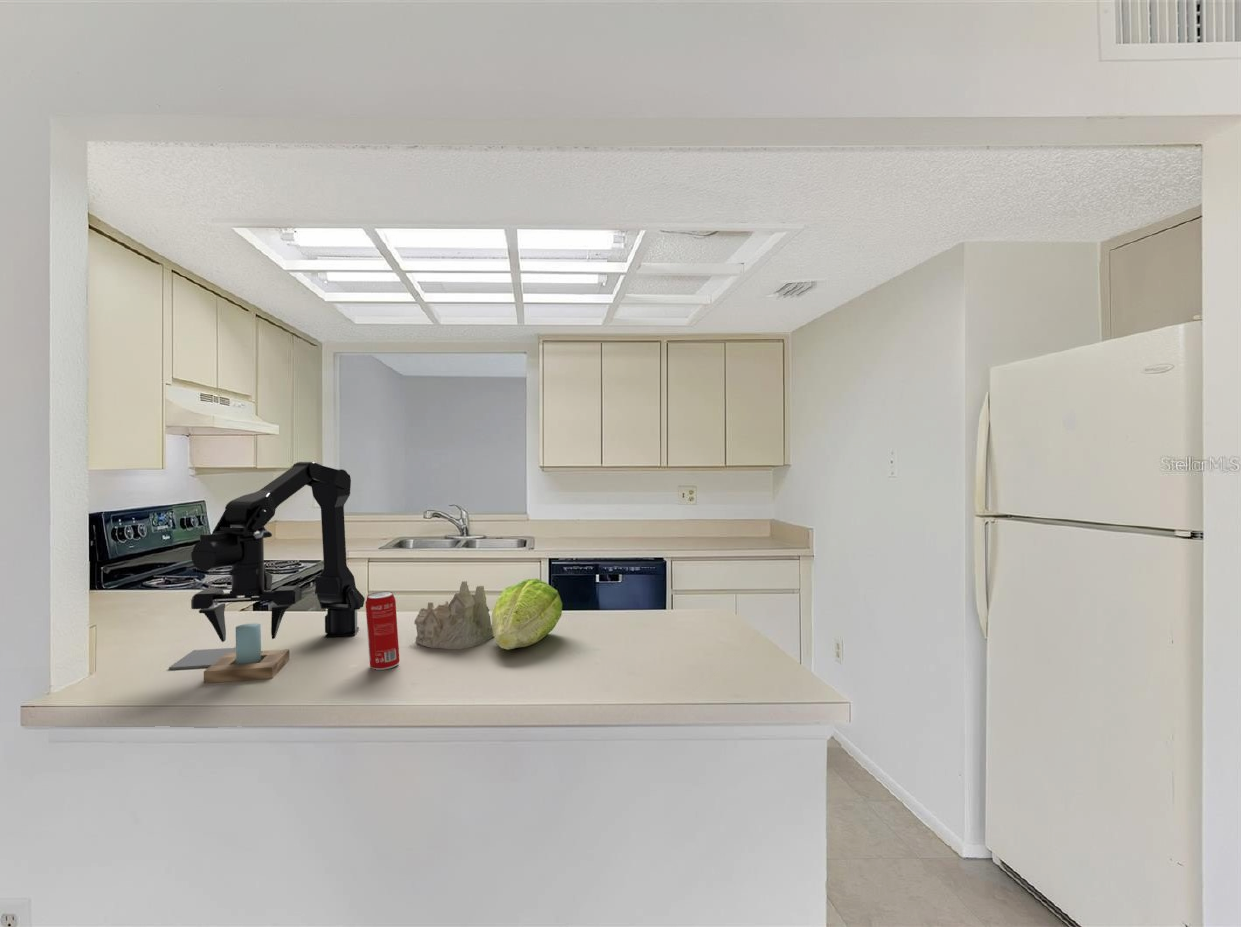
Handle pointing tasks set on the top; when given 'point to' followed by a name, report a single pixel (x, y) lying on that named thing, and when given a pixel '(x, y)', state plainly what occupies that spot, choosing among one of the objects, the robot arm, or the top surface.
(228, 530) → the robot arm
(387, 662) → the beverage can
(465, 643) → the ceramic cottage
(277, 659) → the pocket block
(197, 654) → the mat
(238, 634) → the peg
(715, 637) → the top surface
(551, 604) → the lettuce
